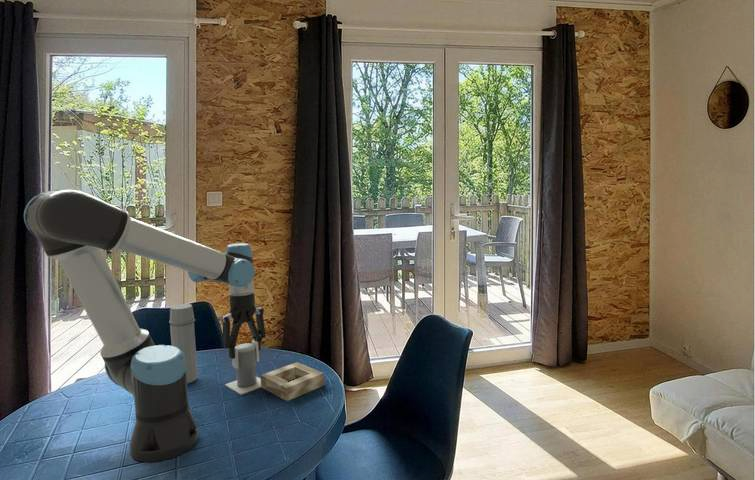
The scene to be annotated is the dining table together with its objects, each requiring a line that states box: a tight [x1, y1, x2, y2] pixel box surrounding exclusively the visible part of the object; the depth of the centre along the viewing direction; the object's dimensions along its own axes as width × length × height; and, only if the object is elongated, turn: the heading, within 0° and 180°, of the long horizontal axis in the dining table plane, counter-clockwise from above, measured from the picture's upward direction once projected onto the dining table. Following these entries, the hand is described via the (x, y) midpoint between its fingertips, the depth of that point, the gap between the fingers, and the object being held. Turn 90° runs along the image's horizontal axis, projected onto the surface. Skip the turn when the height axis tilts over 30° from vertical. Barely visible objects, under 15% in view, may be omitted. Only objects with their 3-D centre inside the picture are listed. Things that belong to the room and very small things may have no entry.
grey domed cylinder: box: [235, 342, 257, 387], centre depth 141 cm, size 6×6×12 cm
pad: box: [224, 375, 262, 396], centre depth 142 cm, size 10×10×1 cm
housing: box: [260, 361, 325, 402], centre depth 140 cm, size 14×14×4 cm
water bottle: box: [168, 303, 199, 385], centre depth 145 cm, size 9×8×25 cm
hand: (245, 364), depth 141 cm, fingers open, 6 cm apart
